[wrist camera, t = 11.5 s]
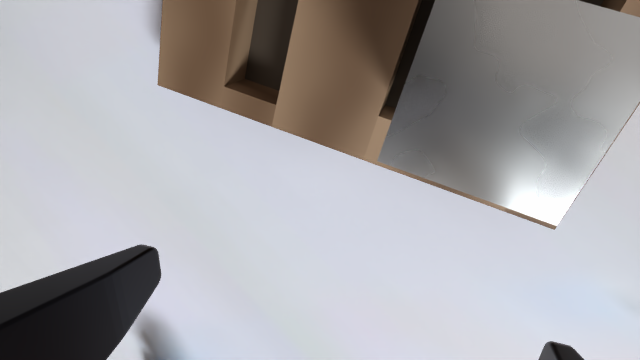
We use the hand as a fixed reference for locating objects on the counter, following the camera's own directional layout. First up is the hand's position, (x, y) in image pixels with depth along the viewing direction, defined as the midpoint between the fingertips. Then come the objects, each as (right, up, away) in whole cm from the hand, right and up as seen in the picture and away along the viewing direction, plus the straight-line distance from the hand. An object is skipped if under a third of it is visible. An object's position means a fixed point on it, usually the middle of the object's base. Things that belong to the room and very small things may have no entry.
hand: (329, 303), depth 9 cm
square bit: (+6, +8, +7) cm, 12 cm away
